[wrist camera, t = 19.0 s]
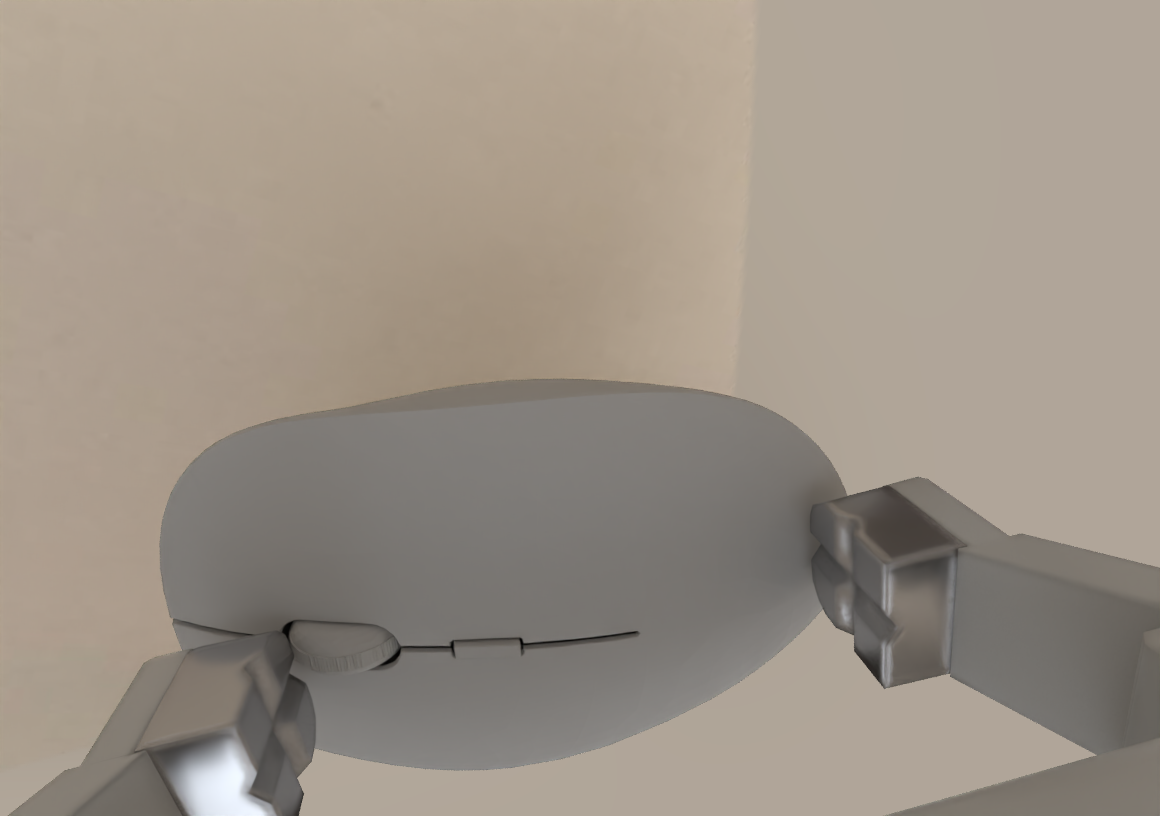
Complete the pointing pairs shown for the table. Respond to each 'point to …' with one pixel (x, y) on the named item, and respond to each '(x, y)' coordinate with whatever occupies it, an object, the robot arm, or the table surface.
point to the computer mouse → (503, 561)
